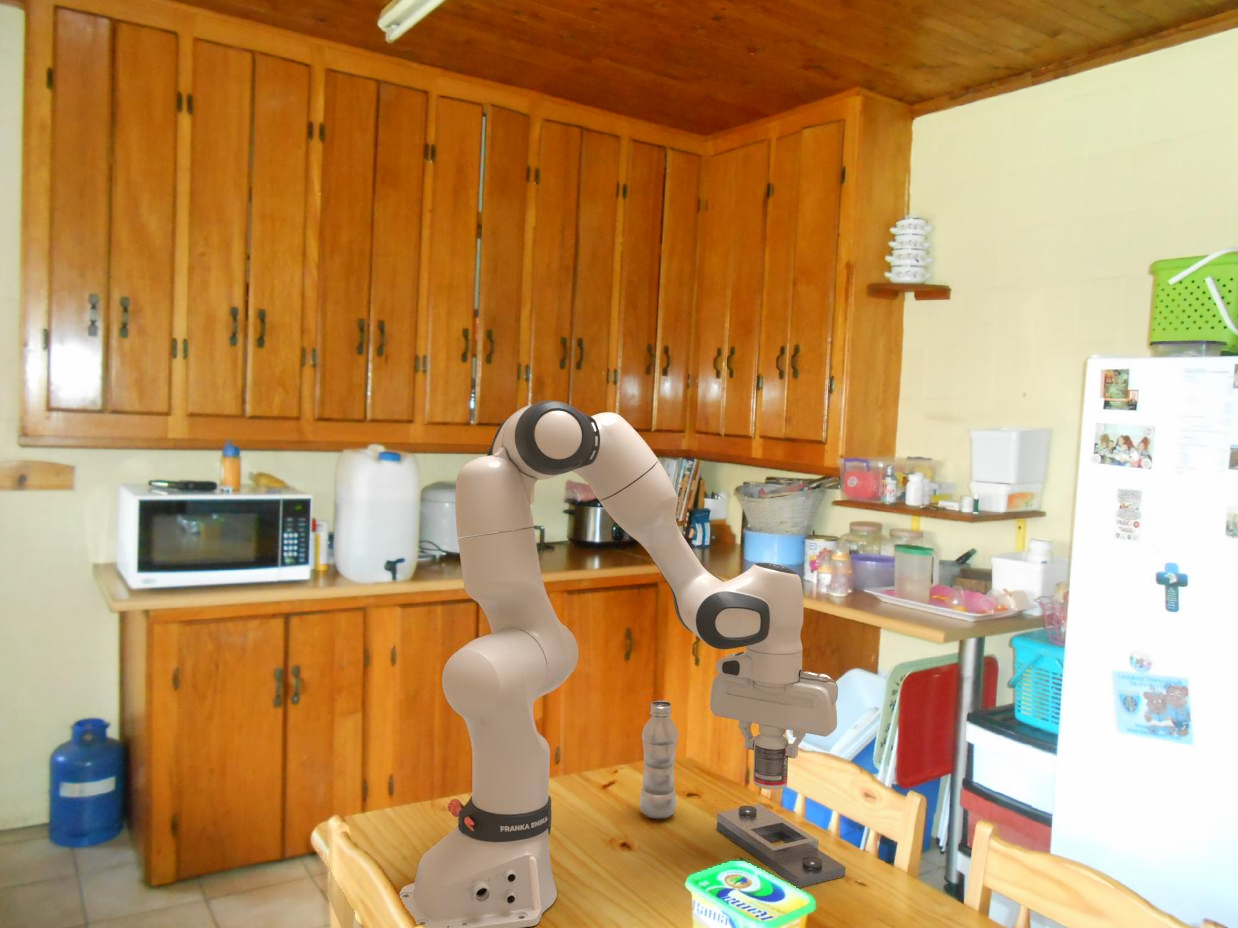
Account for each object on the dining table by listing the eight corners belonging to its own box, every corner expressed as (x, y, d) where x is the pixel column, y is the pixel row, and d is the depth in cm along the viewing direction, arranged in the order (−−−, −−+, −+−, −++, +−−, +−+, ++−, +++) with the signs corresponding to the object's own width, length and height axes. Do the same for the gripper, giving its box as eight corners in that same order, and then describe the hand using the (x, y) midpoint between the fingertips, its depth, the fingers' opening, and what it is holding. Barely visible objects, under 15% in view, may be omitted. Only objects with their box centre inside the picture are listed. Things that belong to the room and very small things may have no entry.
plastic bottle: (682, 813, 166) (686, 702, 165) (663, 827, 160) (668, 711, 159) (651, 804, 169) (655, 695, 169) (631, 817, 164) (635, 704, 163)
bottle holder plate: (799, 888, 141) (800, 863, 140) (716, 829, 160) (717, 807, 160) (845, 876, 145) (846, 852, 145) (759, 820, 164) (760, 799, 164)
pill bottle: (792, 790, 146) (793, 728, 146) (758, 791, 145) (760, 729, 145) (781, 777, 151) (782, 717, 151) (748, 778, 151) (750, 718, 150)
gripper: (844, 671, 145) (841, 759, 146) (723, 653, 155) (720, 735, 156) (831, 680, 140) (828, 772, 140) (707, 660, 150) (704, 746, 151)
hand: (771, 752), depth 148 cm, fingers closed on pill bottle, 5 cm apart
